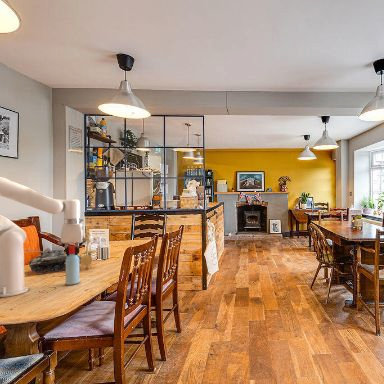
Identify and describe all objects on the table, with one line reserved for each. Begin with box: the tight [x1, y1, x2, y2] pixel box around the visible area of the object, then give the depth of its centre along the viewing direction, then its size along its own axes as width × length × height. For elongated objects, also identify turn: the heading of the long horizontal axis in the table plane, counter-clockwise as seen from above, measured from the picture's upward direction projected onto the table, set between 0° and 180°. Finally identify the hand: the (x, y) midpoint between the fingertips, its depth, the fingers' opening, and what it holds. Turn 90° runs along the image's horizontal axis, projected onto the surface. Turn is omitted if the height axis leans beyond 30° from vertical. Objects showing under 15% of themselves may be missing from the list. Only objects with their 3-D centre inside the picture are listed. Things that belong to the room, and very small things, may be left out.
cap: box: [68, 245, 76, 254], centre depth 156 cm, size 4×4×4 cm
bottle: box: [65, 253, 80, 286], centre depth 157 cm, size 6×6×20 cm
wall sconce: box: [80, 230, 98, 270], centre depth 187 cm, size 14×10×25 cm
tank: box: [25, 247, 83, 275], centre depth 185 cm, size 16×31×15 cm, turn 132°
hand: (72, 254), depth 157 cm, fingers closed on cap, 3 cm apart
